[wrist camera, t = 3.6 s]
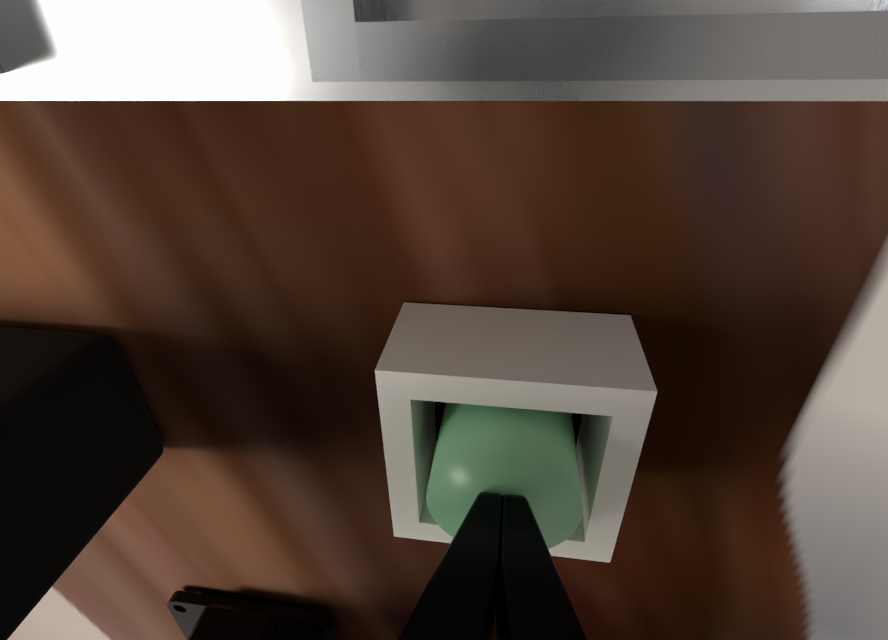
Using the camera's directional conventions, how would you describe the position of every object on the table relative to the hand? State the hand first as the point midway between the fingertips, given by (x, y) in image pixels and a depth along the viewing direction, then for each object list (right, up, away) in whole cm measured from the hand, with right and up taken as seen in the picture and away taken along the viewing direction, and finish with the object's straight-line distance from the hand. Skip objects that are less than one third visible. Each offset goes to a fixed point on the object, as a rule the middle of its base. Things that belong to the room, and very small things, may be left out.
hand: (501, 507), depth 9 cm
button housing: (0, +2, +3) cm, 3 cm away
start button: (0, +1, +2) cm, 3 cm away
